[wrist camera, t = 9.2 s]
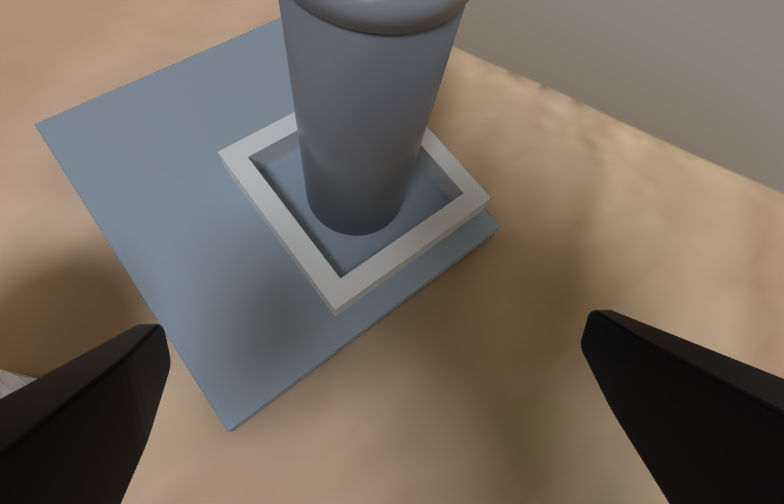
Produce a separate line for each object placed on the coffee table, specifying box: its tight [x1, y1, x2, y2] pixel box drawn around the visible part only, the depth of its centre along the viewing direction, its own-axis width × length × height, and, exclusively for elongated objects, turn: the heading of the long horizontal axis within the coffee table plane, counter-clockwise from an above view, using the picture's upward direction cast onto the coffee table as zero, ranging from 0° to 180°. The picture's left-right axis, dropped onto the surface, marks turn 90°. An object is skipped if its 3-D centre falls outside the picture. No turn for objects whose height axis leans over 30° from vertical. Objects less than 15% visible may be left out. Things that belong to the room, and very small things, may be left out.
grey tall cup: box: [279, 0, 469, 236], centre depth 16 cm, size 5×5×13 cm
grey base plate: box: [34, 18, 500, 432], centre depth 21 cm, size 18×16×3 cm
